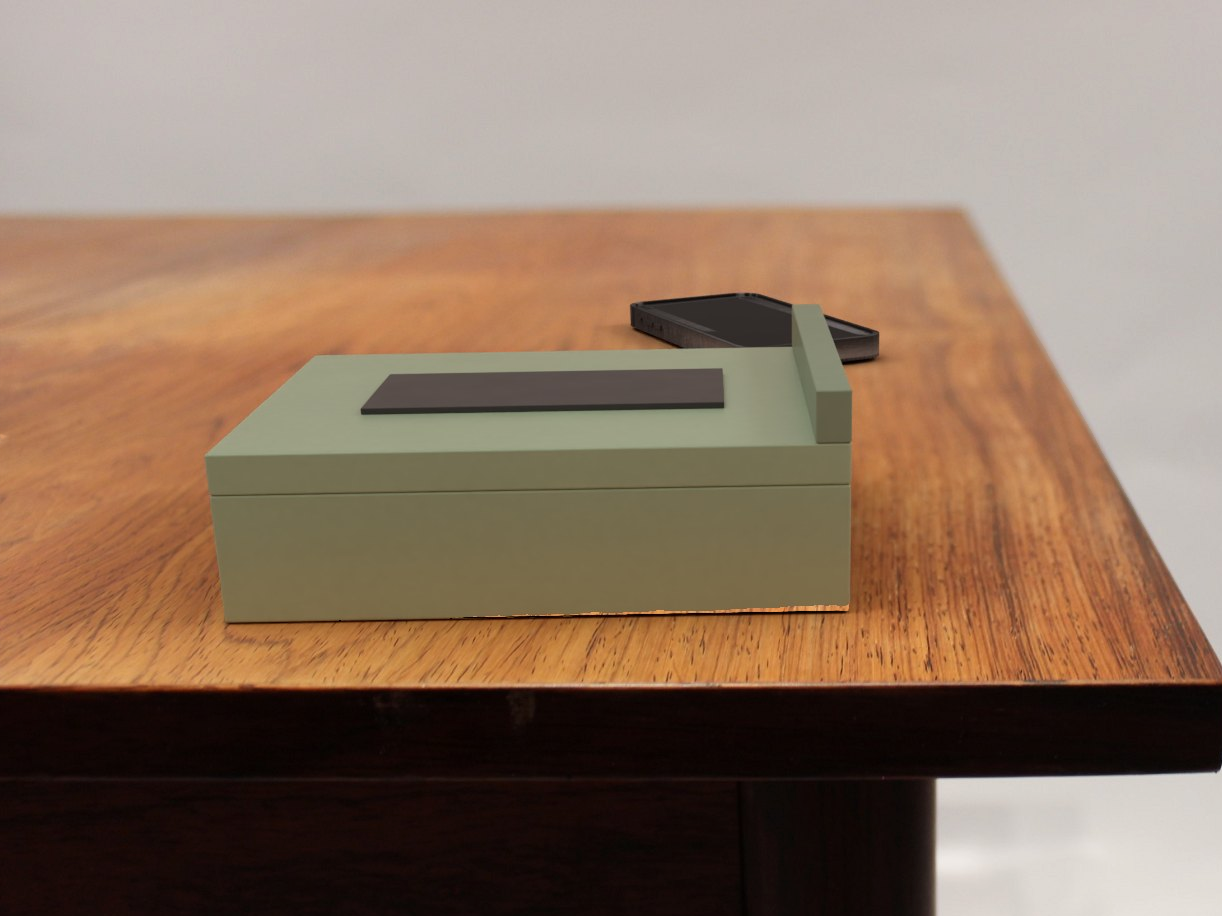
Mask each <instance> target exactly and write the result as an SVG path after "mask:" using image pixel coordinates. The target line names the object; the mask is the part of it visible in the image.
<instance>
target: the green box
mask: <svg viewBox="0 0 1222 916" xmlns="http://www.w3.org/2000/svg"><path fill="white" fill-rule="evenodd" d="M792 304H793V303H792ZM823 314H824V312H823V310H822V307H821V304H819V303H802V304H799V303H798V304H795V303H794V304H793V305H792V347H756V348H700V349H686V348H653V349H649V348H648V349H646V348H645V349H644V348H643V349H597V350H596V349H595V350H594V349H593V350H592V349H591V350H542V351H541V350H540V351H538V350H536V351H535V350H534V351H491V352H490V351H486V352H485V351H484V352H475V351H474V352H428V353H426V352H424V353H423V352H422V353H375V354H374V353H371V354H370V353H369V354H365V353H363V354H316V355H314V356H313V357H312V358H311V359H309V360H308V361H307V362H306V363H305V364H304V365H303V366H302V367H301V368H300V369H299V370H297V371H296V372H295V373H293V375H292V376H291V377H289V378H288V379H287V380H286V381H285V382H283V384H282V385H280V387H278V388H277V389H276V390H275V391H274V392H273V393H271V394H270V396H269V397H267V398H266V399H265V400H264V401H263V402H262V403H261V404H260V405H258V406H257V407H256V408H255V409H254V410H253V411H251V412H250V413H249V415H247V416H246V417H245V418H244V419H243V420H242V421H241V422H239V423H238V425H236V426H234V428H233V429H232V430H231V431H230V432H228V433H227V434H226V435H225V436H224V437H223V438H221V439H220V441H218V442H217V443H216V444H215V445H214V446H213V447H212V448H211V449H210V450H208V451H207V452H206V453H204V464H205V474H206V482H207V489H208V494H209V504H210V505H209V506H210V512H211V520H212V529H213V536H214V545H215V553H216V561H217V569H218V576H219V585H220V591H221V592H220V593H221V600H222V609H223V616H224V617H223V618H224V621H225V623H230V624H231V623H275V622H276V623H277V622H281V623H282V622H285V623H286V622H324V621H325V622H331V621H332V622H335V621H337V622H339V620H341V621H387V620H388V621H390V620H391V621H392V620H395V621H397V620H442V619H443V620H445V619H446V620H447V619H450V618H452V619H456V618H455V617H458V618H457V619H464V618H463V617H473V616H477V617H485V616H498V615H500V616H512V615H526V614H528V615H532V616H535V615H547V614H548V615H551V614H564V615H570V614H580V613H591V612H602V613H623V612H649V611H656V610H664V611H715V610H730V609H747V608H763V609H764V608H780V607H788V606H791V607H794V606H814V605H824V606H829V605H837V606H846V605H848V604H850V605H851V554H852V553H851V547H852V546H851V545H852V544H851V543H852V542H851V540H852V539H851V538H852V537H851V536H852V485H851V483H852V460H853V459H852V457H853V455H852V454H853V453H852V451H853V450H852V448H853V445H852V441H853V389H852V387H851V384H850V381H849V378H848V376H847V373H846V371H845V368H844V365H843V362H841V360H840V357H839V355H838V352H837V349H836V347H835V344H834V341H833V339H832V336H831V333H830V331H829V328H828V325H827V323H826V320H825V317H824V315H823Z"/></svg>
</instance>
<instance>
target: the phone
mask: <svg viewBox="0 0 1222 916" xmlns="http://www.w3.org/2000/svg"><path fill="white" fill-rule="evenodd" d="M792 305H793V303H790V302H786V301H783V300H780V299H777V298H774V297H770V296H768V295H765V294H761V293H757V292H728V293H718V294H717V293H716V294H709V295H696V296H684V297H676V298H675V297H674V298H664V299H653V300H644V301H636V302H631V303H630V305H629V314H630V317H629V318H630V327H632V328H634V329H637V330H639V331H641V332H644V333H647V334H648V335H652V336H654V337H657V338H659V339H661V340H663V341H666V342H668V343H671V344H672V345H673V344H674V345H676V346H678V347H682V349H700V348H756V347H792ZM823 315H824V317H825V320H826V323H827V325H828V328H829V331H830V333H831V336H832V339H833V341H834V344H835V347H836V349H837V352H838V355H839V357H840V360H841V363H843V362H851V361H853V362H854V361H860V360H869V359H874V358H878V357H879V356H880V331H878V330H876V329H874V328H870V327H867V326H864V325H860V324H857V323H854V322H851V321H848V320H845V319H841V318H838V317H834V316H831V315H829V314H825V313H823Z"/></svg>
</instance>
